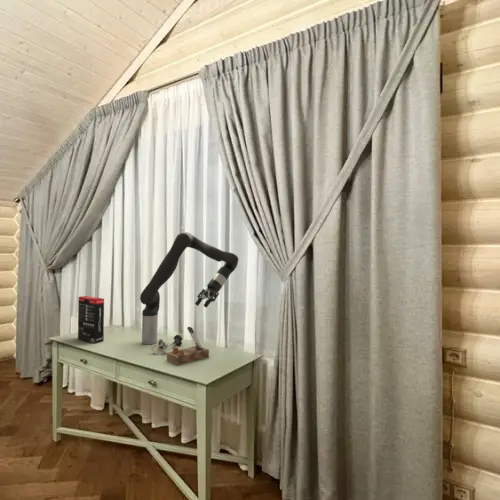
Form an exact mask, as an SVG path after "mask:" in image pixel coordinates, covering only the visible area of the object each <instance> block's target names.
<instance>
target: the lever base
mask: <svg viewBox="0 0 500 500" xmlns="http://www.w3.org/2000/svg"><path fill="white" fill-rule="evenodd" d="M201 347H202V348H200V349H199V348H197V347H196V345H195V346H191V347H190V346H189V347H186V348H181V349H179V347H178V346H175V347H172V348H171V349H172V351H169V352H166V361H167V362H169V363H171V364H174V365H175V366H180V365H184V364H186V363H192V362H195V361H198V360H202V359H206V358H209V357H210V355H209V354H210V349H208V348H205V347H203V346H201Z"/></svg>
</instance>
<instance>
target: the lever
mask: <svg viewBox="0 0 500 500" xmlns="http://www.w3.org/2000/svg"><path fill="white" fill-rule="evenodd" d="M187 331H188V333H189V335H190V337H191V339H192V341H193V342H194V344H195V346H196V347H197V348H199V349H200V348H202V347H203V346H202V345H201V343H200V341H199V339H198V337H197V335H196V333H195V331H194V329H193V327H192V326H188V327H187Z"/></svg>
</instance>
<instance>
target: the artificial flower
mask: <svg viewBox="0 0 500 500" xmlns="http://www.w3.org/2000/svg"><path fill="white" fill-rule="evenodd" d="M173 340H174V341H173V342H172V343H170V344H169V343H166V342H165V341H164V340H163V339H162V338H160V339H158V340H157V344H158V345H157V344H152V345H151V347H150V350H151V352H152V353H155V355H156V356H161V355H163V354H165V350H166V349H167V348H168V347H170V346H172V345H177V346H181V345H182V344H183V342H182V341H183V337H182V336H181V335H179V334H175V336H173Z"/></svg>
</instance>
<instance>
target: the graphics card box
mask: <svg viewBox="0 0 500 500" xmlns="http://www.w3.org/2000/svg"><path fill="white" fill-rule="evenodd" d="M77 305H78V307H77V309H78V311H77V314H78V315H77V317H78V318H77V319H78V320H77V340H82V341H84V342H89V343H93V344H97V343H101V342H103V341H104V340H105V339H104V338H105V337H104V333H105V332H104V331H105V329H104V327H105V324H104V323H105V321H104V320H105V298H101V297H94V296H87V295H83V296H82V295H81V296H78V304H77Z"/></svg>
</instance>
